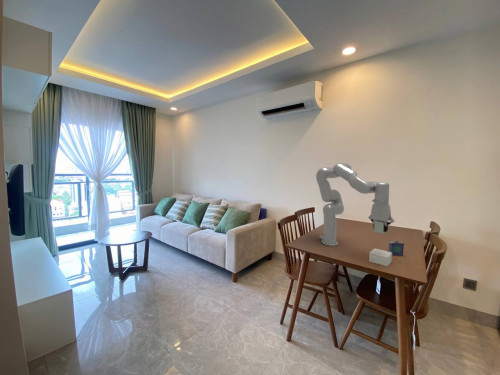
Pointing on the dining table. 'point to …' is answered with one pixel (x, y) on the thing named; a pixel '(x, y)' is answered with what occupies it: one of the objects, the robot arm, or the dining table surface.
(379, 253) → the cream box
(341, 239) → the dining table surface
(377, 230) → the open sage green box
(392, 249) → the flask
